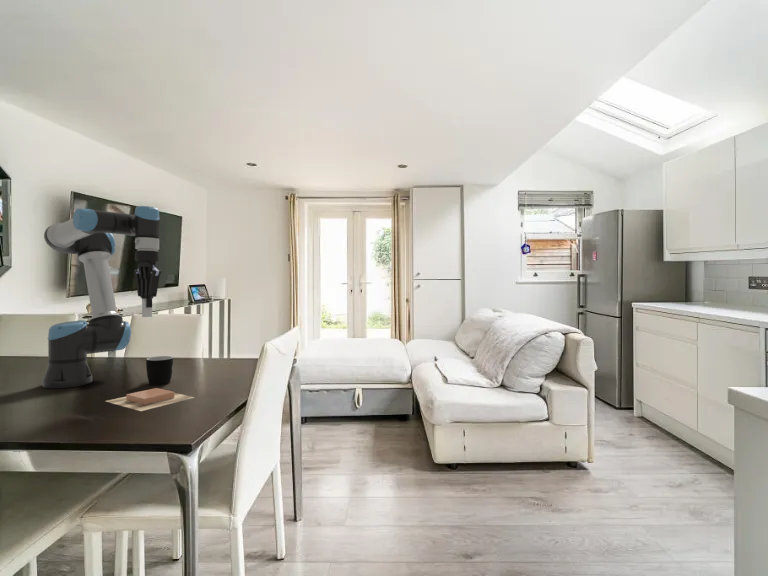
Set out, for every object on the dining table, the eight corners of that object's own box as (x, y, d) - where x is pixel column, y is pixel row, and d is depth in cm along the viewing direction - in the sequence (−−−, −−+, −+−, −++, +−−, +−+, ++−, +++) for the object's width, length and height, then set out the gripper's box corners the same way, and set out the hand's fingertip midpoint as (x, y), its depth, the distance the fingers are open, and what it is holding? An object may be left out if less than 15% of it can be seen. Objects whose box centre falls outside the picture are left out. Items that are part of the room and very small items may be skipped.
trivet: (104, 403, 136) (104, 401, 136) (158, 391, 152) (158, 389, 152) (140, 413, 126) (140, 411, 126) (194, 399, 142) (194, 397, 142)
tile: (126, 394, 137) (144, 398, 132) (156, 387, 146) (174, 391, 141) (126, 400, 137) (144, 405, 132) (156, 393, 146) (174, 398, 141)
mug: (176, 384, 161) (176, 358, 161) (151, 388, 155) (151, 361, 155) (164, 379, 170) (164, 354, 170) (139, 383, 163) (140, 356, 163)
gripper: (126, 250, 152) (125, 316, 152) (147, 249, 145) (147, 318, 146) (146, 251, 158) (146, 315, 159) (168, 250, 152) (168, 317, 152)
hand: (147, 316), depth 152 cm, fingers closed
